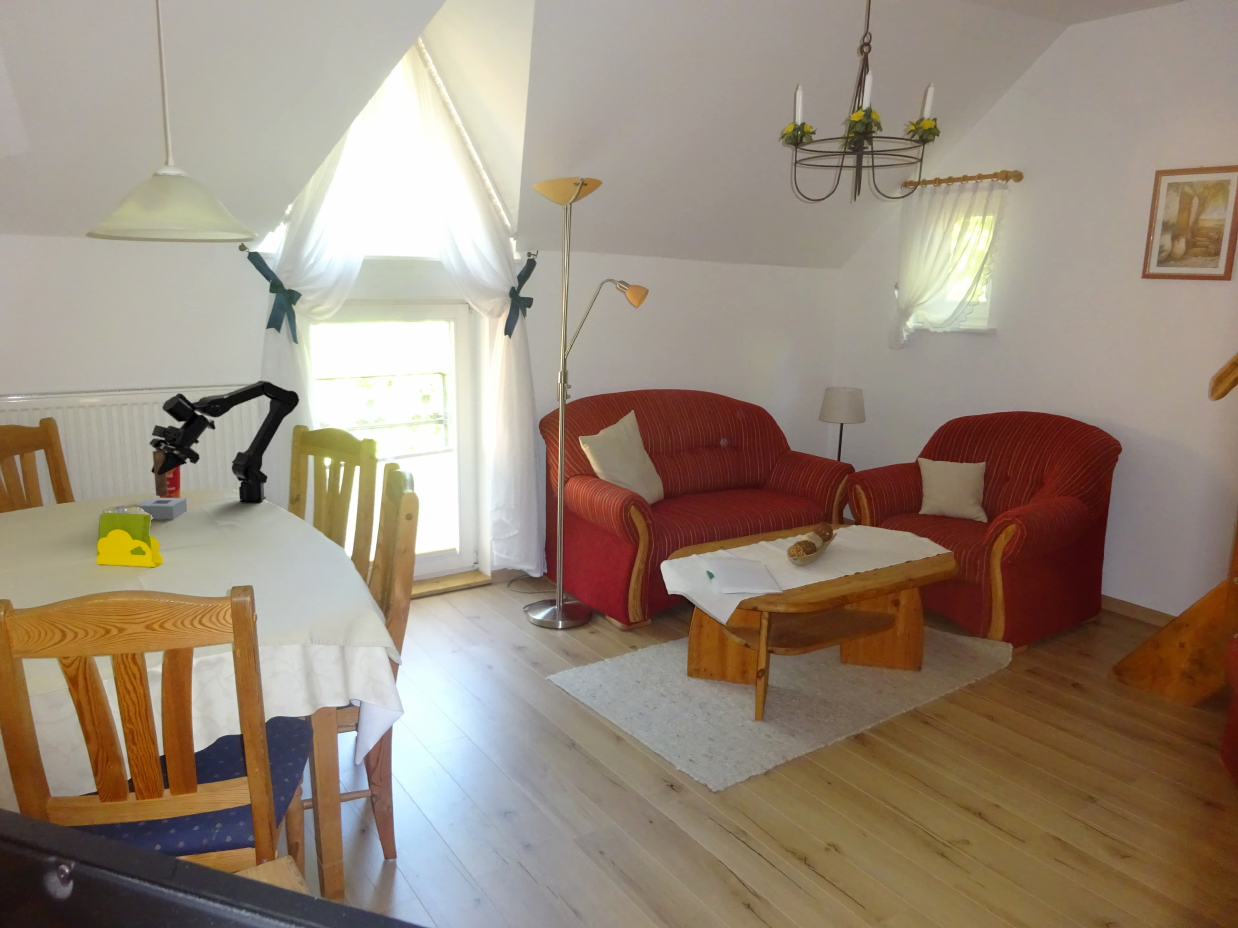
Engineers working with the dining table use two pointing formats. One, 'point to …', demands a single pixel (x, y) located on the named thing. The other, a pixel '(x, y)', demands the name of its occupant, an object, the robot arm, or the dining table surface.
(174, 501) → the socket block
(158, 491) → the dowel
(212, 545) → the dining table surface
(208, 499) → the dining table surface
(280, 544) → the dining table surface
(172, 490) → the paper cup
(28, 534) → the dining table surface
